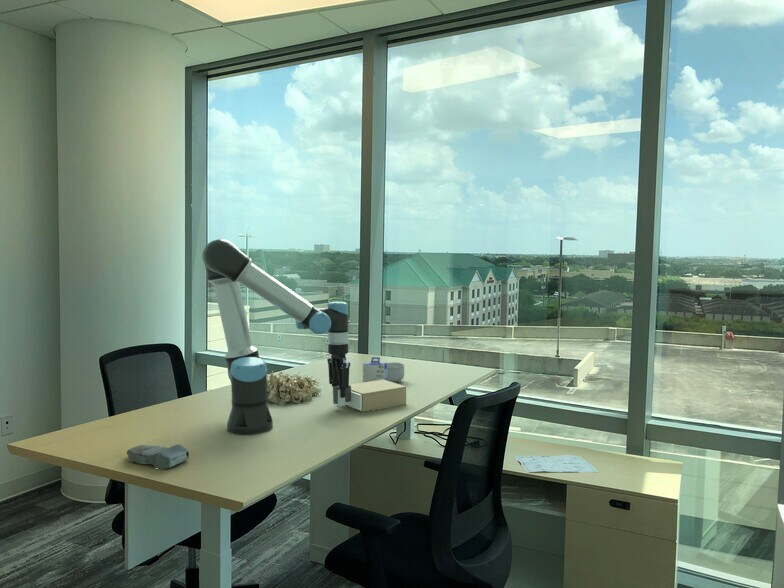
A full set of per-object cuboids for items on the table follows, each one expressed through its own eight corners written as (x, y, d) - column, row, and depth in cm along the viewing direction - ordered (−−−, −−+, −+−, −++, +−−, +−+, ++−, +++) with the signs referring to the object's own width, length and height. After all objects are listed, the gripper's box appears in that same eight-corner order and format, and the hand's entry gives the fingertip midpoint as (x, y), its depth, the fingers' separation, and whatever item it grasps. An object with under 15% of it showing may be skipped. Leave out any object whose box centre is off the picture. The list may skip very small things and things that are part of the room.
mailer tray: (346, 413, 222) (345, 390, 221) (325, 404, 235) (324, 383, 234) (404, 402, 237) (404, 381, 236) (381, 394, 250) (381, 375, 249)
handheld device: (140, 452, 183) (139, 437, 183) (192, 461, 175) (192, 445, 175) (114, 462, 174) (113, 446, 174) (168, 472, 167) (168, 456, 166)
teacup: (409, 382, 277) (409, 365, 276) (389, 385, 271) (389, 367, 270) (391, 377, 288) (391, 360, 288) (372, 380, 282) (372, 362, 282)
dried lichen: (299, 408, 233) (299, 379, 232) (232, 402, 243) (231, 374, 242) (328, 393, 258) (328, 366, 257) (266, 388, 268) (266, 362, 267)
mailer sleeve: (362, 412, 226) (362, 393, 226) (341, 403, 239) (341, 385, 239) (406, 404, 238) (406, 386, 237) (383, 396, 251) (383, 379, 250)
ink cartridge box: (388, 390, 261) (387, 357, 260) (385, 393, 255) (385, 359, 254) (365, 389, 263) (365, 356, 262) (362, 392, 257) (362, 358, 256)
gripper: (358, 344, 223) (358, 407, 225) (336, 339, 236) (337, 399, 238) (340, 346, 219) (341, 410, 221) (319, 341, 232) (320, 401, 234)
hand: (339, 404), depth 229 cm, fingers closed on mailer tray, 3 cm apart
